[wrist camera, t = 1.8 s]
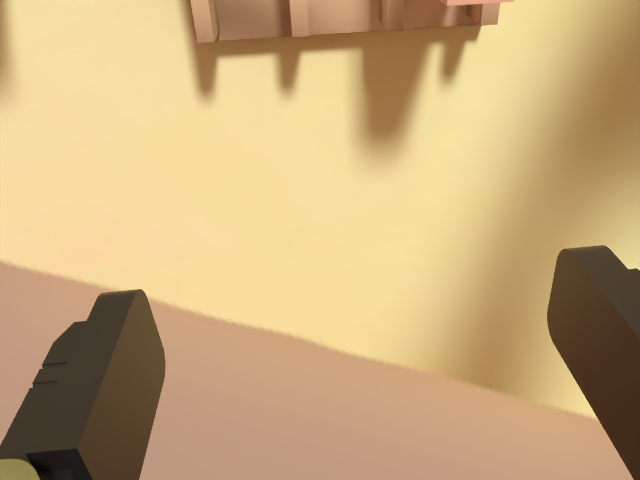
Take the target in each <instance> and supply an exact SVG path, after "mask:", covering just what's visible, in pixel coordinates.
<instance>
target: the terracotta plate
mask: <svg viewBox="0 0 640 480" xmlns="http://www.w3.org/2000/svg"><path fill="white" fill-rule="evenodd" d="M440 1H441V2H443V3H444V4H445V5H447V6H453V5H469V4H485V3H501V2H514V0H440Z"/></svg>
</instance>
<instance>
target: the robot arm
mask: <svg viewBox="0 0 640 480" xmlns="http://www.w3.org/2000/svg"><path fill="white" fill-rule="evenodd" d="M547 321H548V328H549V332H550V336H551V338H552V341H553V343H554V345H555V346H556V348H557V350H558V352H559V353H560V355H561V357H562V358H563V360H564V362H565V363H566V365H567V367H568V369H569V370H570V372H571V374H572V375H573V377H574V379H575V380H576V382H577V384H578V385H579V387H580V389H581V391H582V392H583V394H584V396H585V397H586V399H587V401H588V402H589V404H590V406H591V408H592V409H593V411H594V413H595V414H596V416H597V418H598V419H599V421H600V423H601V424H602V426H603V428H604V430H605V431H606V433H607V435H608V436H609V438H610V440H611V441H612V443H613V445H614V447H615V448H616V450H617V452H618V453H619V455H620V457H621V458H622V460H623V462H624V463H625V465H626V467H627V469H628V470H629V472H630V474H631V475H632V477H633V479H634V480H640V270H638V269H627V268H626V266H625V265H624V264H623V263H622V262H621V261H620V260H619V259H618V258H617V256H616V255H615V254H614V253H613V252H612V251H611V250H610V249H609V248H608V247H606V246H603V245H602V246H591V247H581V248H571V249H563V250H562V251H561V252H560V253H559V255H558V258H557V262H556V267H555V273H554V278H553V284H552V289H551V295H550V300H549V306H548V312H547ZM42 366H43V367H42V369H40V370H39V372H38V374H37V376H36V377H35V379H34V382H33V388H30V389H29V391H28V393H27V395H26V397H25V399H24V401H23V403H22V405H21V407H20V409H19V410H18V412H17V414H16V417H15V418H14V420H13V422H12V424H11V426H10V428H9V430H8V432H7V434H6V436H5V438H4V440H3V441H2V443H1V445H0V480H139V478H140V474H141V470H142V466H143V462H144V457H145V454H146V450H147V446H148V442H149V438H150V434H151V430H152V425H153V422H154V418H155V414H156V410H157V406H158V402H159V398H160V394H161V390H162V386H163V382H164V377H165V356H164V349H163V346H162V342H161V339H160V336H159V333H158V330H157V327H156V324H155V321H154V318H153V314H152V311H151V308H150V305H149V302H148V299H147V296H146V294H145V293H144V291H143V290H141V289H138V290H128V291H118V292H108V293H101V294H100V295H99V296H98V298H97V300H96V302H95V304H94V306H93V309H92V311H91V312H90V315H89V317H88V319H87V321H81V322H74V323H73V324H72V325H71V326H70V327H69V328H68V329H67V330H66V331H65V332H64V333H63V334H62V335H61V336H60V337H59V338H58V339H57V340H56V341H55V342H54V343H53V345H52V347H51V348H50V350H49V353H48V354H47V356H46V358H45V360H44V362H43V364H42Z"/></svg>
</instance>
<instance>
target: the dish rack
mask: <svg viewBox="0 0 640 480" xmlns="http://www.w3.org/2000/svg"><path fill="white" fill-rule="evenodd" d="M190 1H191V8H192V14H193V20H194V26H195V32H196V38H197V43H209V42H215V41H223V40H239V39H255V38H271V37H287V36H292V37H305V36H309V35H319V34H335V33H351V32H367V31H383V30H386V31H401V30H403V29H415V28H430V27H446V26H462V25H478V24H479V25H497V23H498V15H499V7H500V3H485V4H469V5H453V6H447V5H445V4H444V3H443V2H441V1H440V0H190Z"/></svg>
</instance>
